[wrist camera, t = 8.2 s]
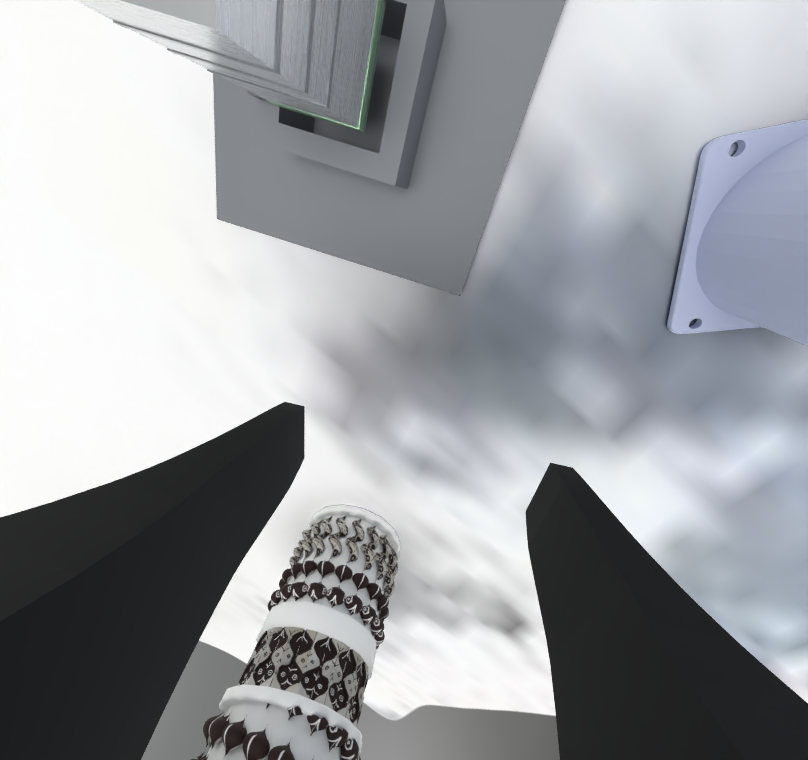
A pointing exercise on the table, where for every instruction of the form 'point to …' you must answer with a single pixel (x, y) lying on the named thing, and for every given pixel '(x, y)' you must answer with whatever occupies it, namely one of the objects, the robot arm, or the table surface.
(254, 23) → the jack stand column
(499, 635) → the table surface
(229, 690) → the decorative candle
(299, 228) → the grey socket base
